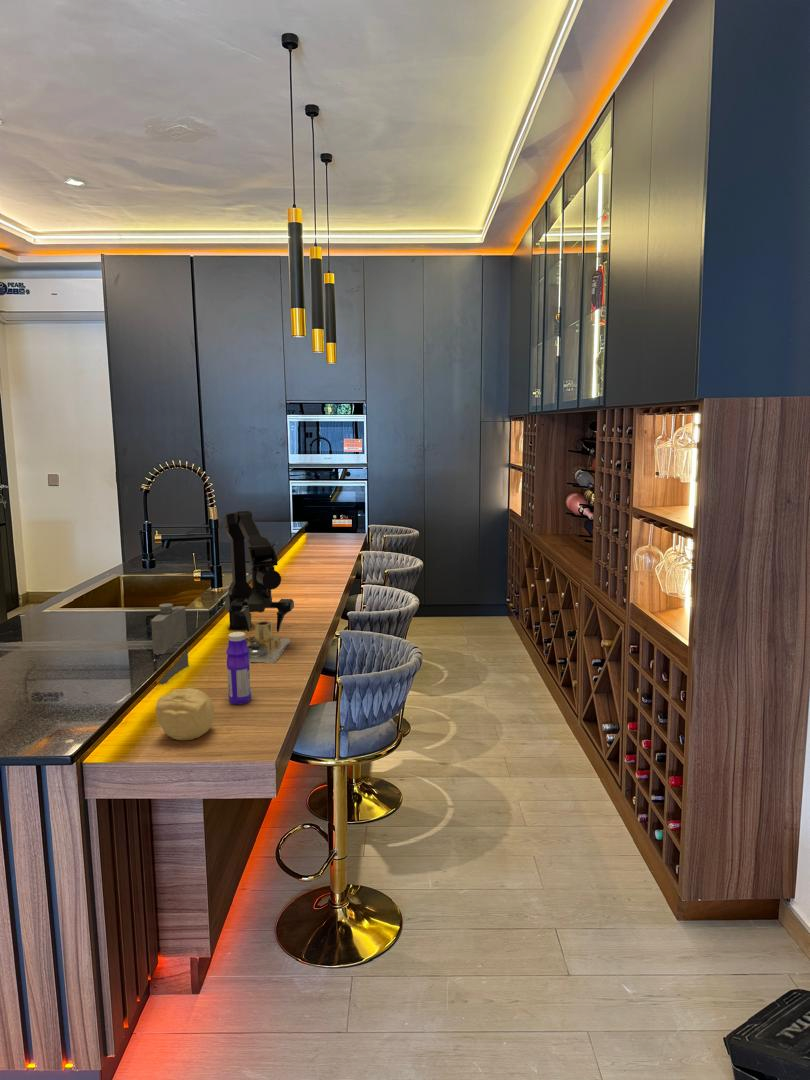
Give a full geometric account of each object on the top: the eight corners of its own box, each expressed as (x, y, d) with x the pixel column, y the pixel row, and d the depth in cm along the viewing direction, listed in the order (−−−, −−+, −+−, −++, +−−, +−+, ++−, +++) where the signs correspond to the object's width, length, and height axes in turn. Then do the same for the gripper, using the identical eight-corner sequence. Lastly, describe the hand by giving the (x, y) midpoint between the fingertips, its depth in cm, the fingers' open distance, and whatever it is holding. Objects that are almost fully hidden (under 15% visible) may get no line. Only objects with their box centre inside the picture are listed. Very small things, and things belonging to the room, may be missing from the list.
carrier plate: (227, 662, 206) (226, 645, 205) (247, 641, 226) (246, 626, 225) (274, 663, 205) (274, 646, 204) (290, 642, 225) (289, 626, 224)
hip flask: (164, 684, 189) (159, 612, 186) (150, 683, 190) (145, 611, 186) (190, 664, 205) (186, 597, 201) (177, 664, 205) (173, 597, 202)
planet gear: (243, 648, 215) (242, 627, 214) (252, 638, 225) (251, 618, 224) (276, 648, 214) (275, 628, 213) (283, 638, 225) (283, 619, 223)
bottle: (252, 704, 175) (249, 636, 172) (229, 707, 174) (225, 639, 171) (250, 693, 182) (247, 628, 179) (227, 696, 180) (224, 630, 178)
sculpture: (150, 744, 154) (147, 697, 152) (176, 721, 165) (173, 677, 163) (200, 748, 152) (197, 700, 150) (222, 724, 163) (220, 680, 162)
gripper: (223, 588, 209) (225, 639, 212) (285, 589, 208) (287, 640, 211) (234, 580, 220) (236, 628, 223) (293, 580, 219) (295, 629, 222)
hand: (263, 631), depth 219 cm, fingers open, 9 cm apart
